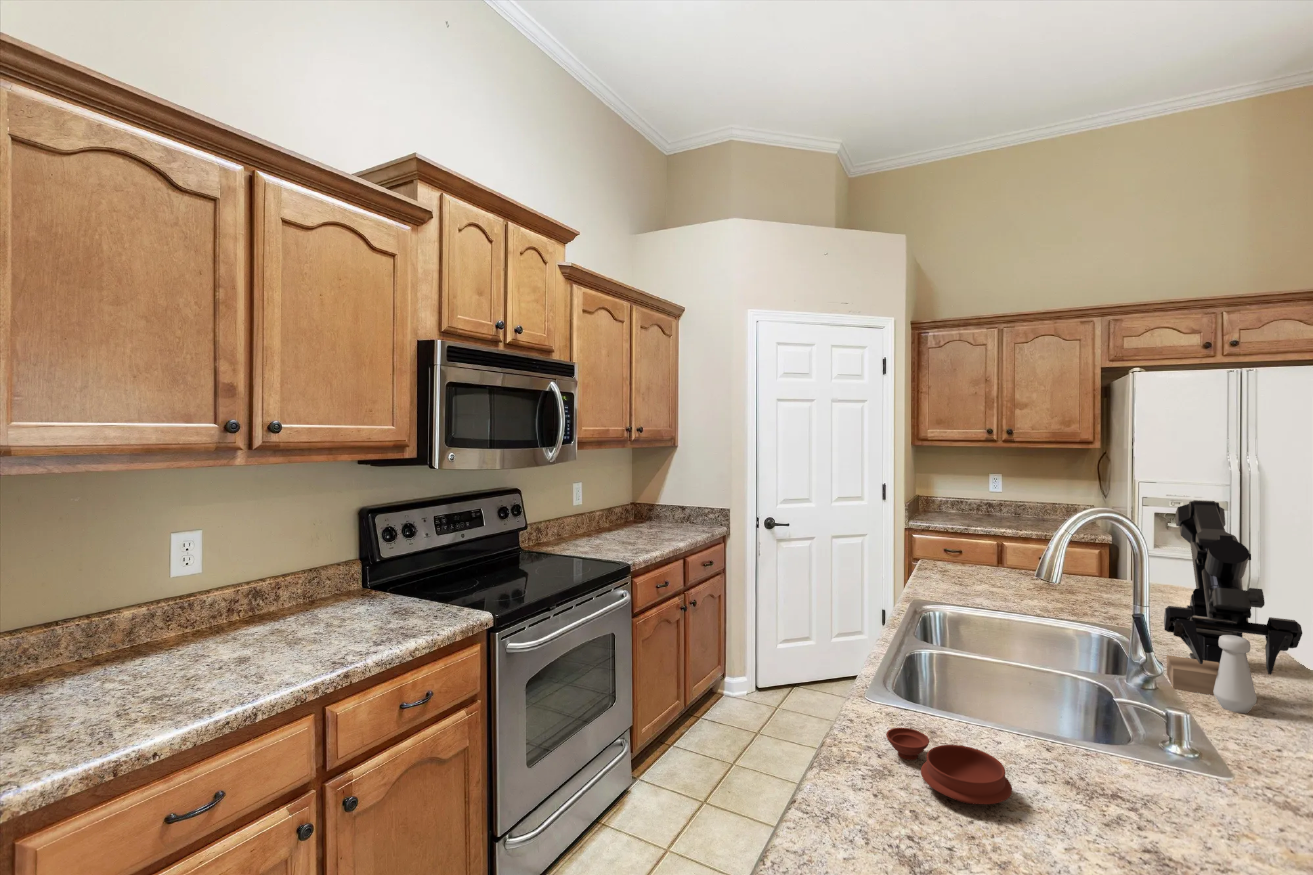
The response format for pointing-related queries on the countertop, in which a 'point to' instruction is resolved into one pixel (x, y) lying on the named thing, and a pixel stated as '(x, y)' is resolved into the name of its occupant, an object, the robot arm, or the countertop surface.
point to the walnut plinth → (1192, 674)
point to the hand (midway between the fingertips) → (1235, 668)
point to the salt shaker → (1234, 675)
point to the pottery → (955, 768)
